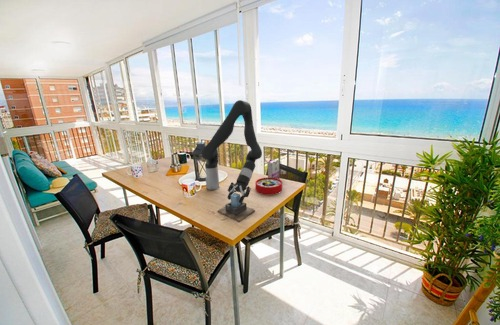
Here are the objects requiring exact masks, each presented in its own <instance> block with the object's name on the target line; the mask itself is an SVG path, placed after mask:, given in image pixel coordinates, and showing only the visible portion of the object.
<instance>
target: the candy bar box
mask: <svg viewBox="0 0 500 325" xmlns="http://www.w3.org/2000/svg"><path fill="white" fill-rule="evenodd" d="M266 164H267V178H278V179H280V159H277V158H276V159H275V158H274V159H272V160H269V161H267V163H266Z"/></svg>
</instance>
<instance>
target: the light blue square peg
mask: <svg viewBox="0 0 500 325" xmlns="http://www.w3.org/2000/svg"><path fill="white" fill-rule="evenodd" d="M240 197H241V193H240V194H239V193H237V192H234V193H233V194H232V195H231V199H230V202H231V206H232V207H235V208H237V207H239V206H240V205H241V203H239V200H240Z"/></svg>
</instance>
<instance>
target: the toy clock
mask: <svg viewBox="0 0 500 325" xmlns="http://www.w3.org/2000/svg"><path fill="white" fill-rule="evenodd" d="M282 191H283V181H282V180H281V179H280V178H278V179H277V178H268V177H261V178H258V179H257V180H255V192H256V193H258V194H261V195H266V196H267V195H268V196H271V195H272V196H273V195H277V194H279V192H280V193H281V192H282Z"/></svg>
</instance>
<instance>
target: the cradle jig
mask: <svg viewBox="0 0 500 325" xmlns="http://www.w3.org/2000/svg"><path fill="white" fill-rule="evenodd" d="M255 212H256V210H255V209H254V208H252V207H248V206H247V203H246V202H244V201H243V202H242V203H241V205H240V206H239V207H237V208H235V207H232V206H231V201H230V202H228V203H226V204H225V205H224V206H223V207H221V208H219V209H218V210H217V213H219V214H222V215H223V216H225V217H227V218H230V219H231V220H232V219H233V220H234V221H236V222H238V223H240V222H241V221H243V220H245V219H246V218H247V217H249V216H251V215H253V213H255Z"/></svg>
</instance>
